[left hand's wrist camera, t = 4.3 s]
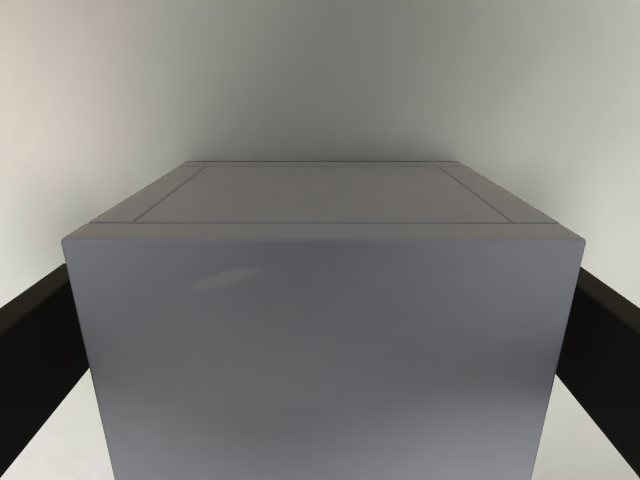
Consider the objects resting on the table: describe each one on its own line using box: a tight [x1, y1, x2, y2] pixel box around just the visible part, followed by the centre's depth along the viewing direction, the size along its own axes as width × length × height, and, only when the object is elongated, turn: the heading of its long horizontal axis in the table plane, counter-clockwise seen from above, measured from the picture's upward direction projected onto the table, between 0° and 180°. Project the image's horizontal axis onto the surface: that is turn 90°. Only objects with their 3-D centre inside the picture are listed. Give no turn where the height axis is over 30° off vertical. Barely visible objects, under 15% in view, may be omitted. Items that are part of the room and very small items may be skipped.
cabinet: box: [61, 162, 586, 480], centre depth 17 cm, size 22×11×9 cm, turn 0°
